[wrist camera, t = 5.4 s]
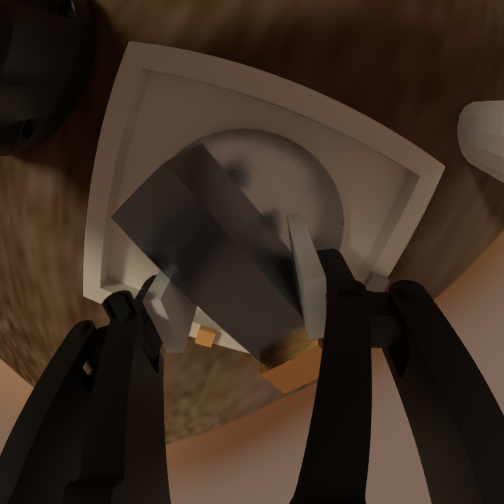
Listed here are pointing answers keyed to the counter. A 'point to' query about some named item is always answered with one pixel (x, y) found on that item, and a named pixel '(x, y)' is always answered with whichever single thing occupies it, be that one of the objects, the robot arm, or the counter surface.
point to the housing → (249, 117)
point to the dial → (240, 239)
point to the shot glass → (483, 136)
